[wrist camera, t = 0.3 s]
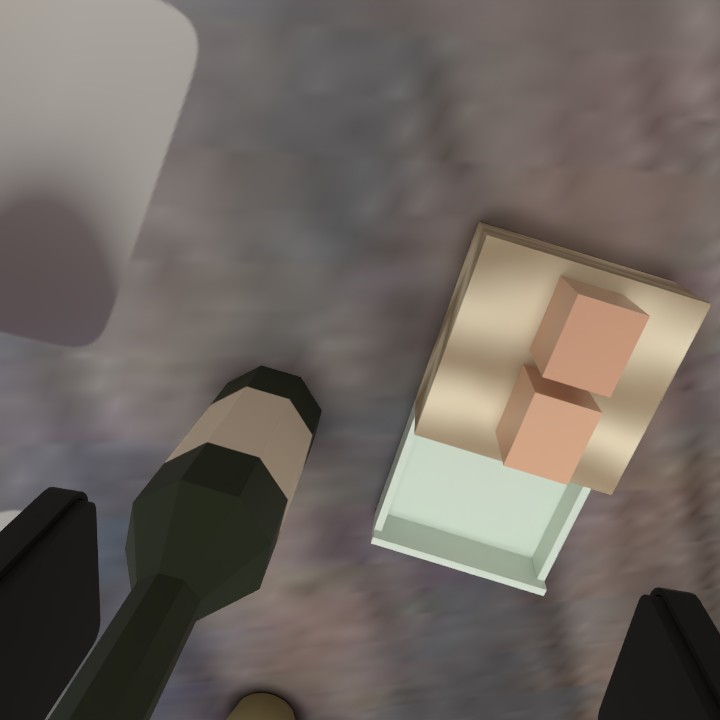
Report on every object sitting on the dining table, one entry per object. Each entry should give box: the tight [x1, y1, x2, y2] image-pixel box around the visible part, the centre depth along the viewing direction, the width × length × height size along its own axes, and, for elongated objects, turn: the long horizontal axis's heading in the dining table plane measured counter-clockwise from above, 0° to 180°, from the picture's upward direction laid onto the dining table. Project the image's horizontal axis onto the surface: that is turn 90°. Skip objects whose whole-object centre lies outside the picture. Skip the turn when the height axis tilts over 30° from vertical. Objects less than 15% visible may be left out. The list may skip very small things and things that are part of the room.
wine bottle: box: [48, 366, 321, 720], centre depth 34 cm, size 8×8×30 cm
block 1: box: [529, 276, 650, 398], centre depth 35 cm, size 5×4×4 cm
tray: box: [371, 399, 591, 596], centre depth 47 cm, size 11×14×4 cm
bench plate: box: [414, 222, 711, 495], centre depth 41 cm, size 14×14×6 cm
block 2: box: [495, 364, 602, 485], centre depth 37 cm, size 5×4×4 cm
